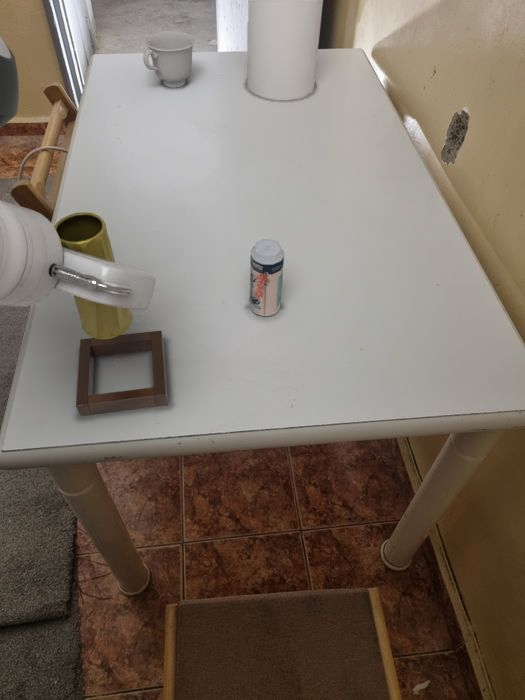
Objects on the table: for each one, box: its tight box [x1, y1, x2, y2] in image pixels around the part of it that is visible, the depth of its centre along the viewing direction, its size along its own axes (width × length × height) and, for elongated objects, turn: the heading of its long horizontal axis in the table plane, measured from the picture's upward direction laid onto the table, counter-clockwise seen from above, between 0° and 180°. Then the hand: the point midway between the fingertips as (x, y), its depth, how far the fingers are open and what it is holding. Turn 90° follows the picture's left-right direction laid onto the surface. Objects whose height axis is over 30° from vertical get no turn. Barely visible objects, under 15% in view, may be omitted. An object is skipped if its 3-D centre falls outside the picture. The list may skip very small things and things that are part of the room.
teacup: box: [142, 30, 196, 89], centre depth 127 cm, size 12×15×10 cm
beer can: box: [249, 238, 285, 317], centre depth 77 cm, size 5×5×12 cm
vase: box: [53, 211, 133, 339], centre depth 58 cm, size 6×6×14 cm
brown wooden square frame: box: [75, 330, 169, 417], centre depth 72 cm, size 12×12×2 cm
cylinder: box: [246, 0, 324, 101], centre depth 122 cm, size 17×17×28 cm
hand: (96, 271), depth 58 cm, fingers closed on vase, 5 cm apart
